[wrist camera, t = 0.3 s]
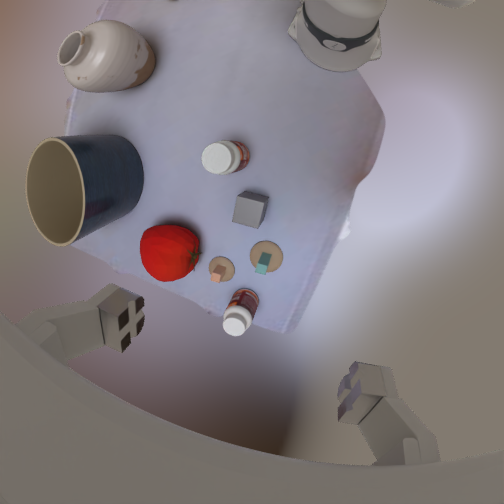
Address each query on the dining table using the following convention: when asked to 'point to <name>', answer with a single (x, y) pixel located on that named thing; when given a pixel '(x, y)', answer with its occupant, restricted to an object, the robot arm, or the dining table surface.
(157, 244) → the tomato
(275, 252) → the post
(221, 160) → the pill bottle
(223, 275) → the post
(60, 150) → the planter
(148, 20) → the dining table surface
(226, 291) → the dining table surface
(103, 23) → the vase
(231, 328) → the pill bottle
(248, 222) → the charcoal tapered box
